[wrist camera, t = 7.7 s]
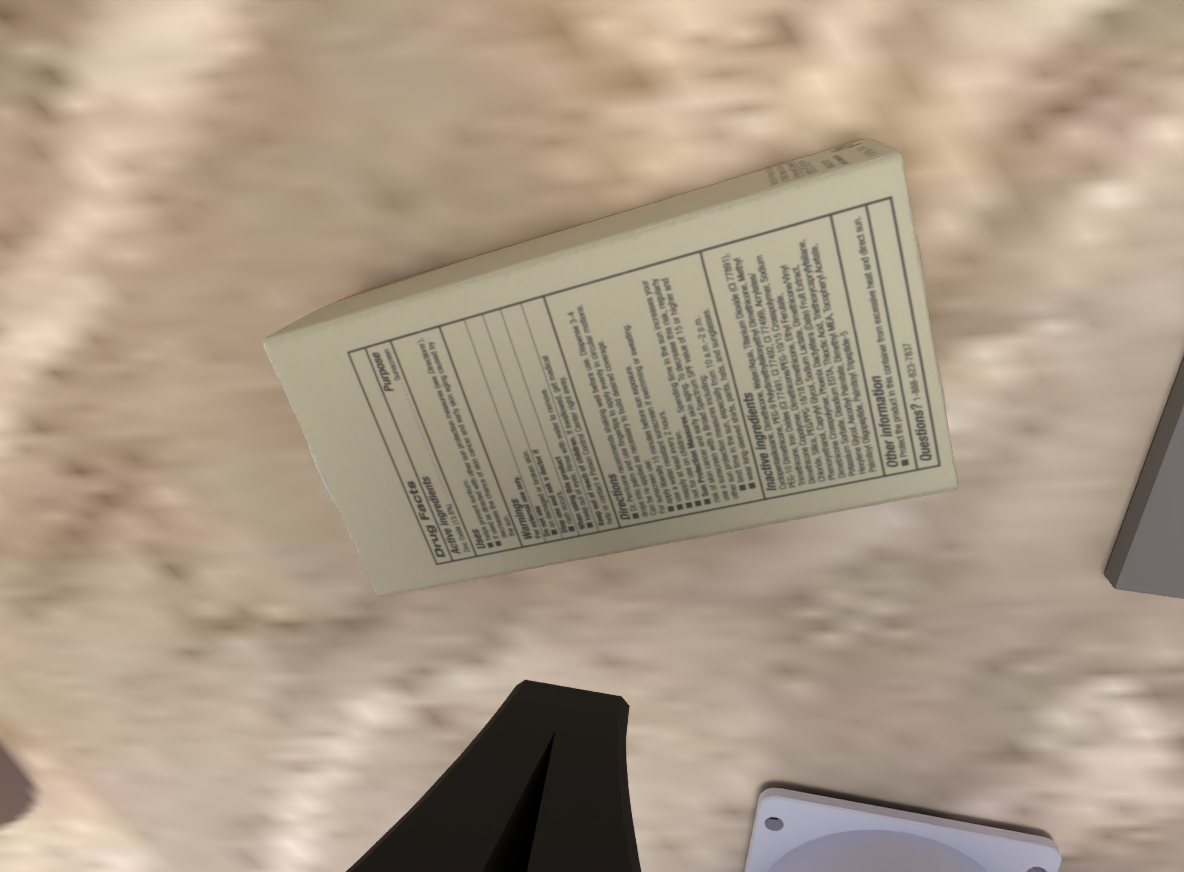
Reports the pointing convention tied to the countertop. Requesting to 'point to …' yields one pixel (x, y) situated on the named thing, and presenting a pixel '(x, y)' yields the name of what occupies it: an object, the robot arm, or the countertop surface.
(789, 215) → the skincare box
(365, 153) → the countertop surface
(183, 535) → the countertop surface
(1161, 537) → the mat
